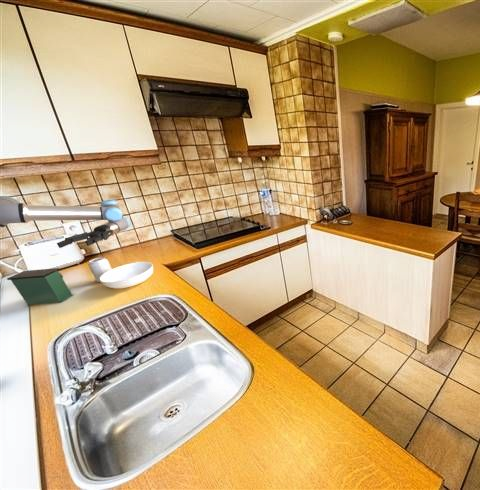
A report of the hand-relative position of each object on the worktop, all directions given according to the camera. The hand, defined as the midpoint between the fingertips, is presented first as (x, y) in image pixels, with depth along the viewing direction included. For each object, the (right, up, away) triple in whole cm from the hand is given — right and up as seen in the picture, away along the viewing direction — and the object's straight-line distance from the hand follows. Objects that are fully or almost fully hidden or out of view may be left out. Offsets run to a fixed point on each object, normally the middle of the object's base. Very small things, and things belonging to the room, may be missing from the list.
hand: (72, 244), depth 137 cm
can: (+13, -19, +5) cm, 24 cm away
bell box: (+3, -26, -12) cm, 29 cm away
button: (+2, -18, -9) cm, 20 cm away
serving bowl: (+31, -20, 0) cm, 37 cm away
